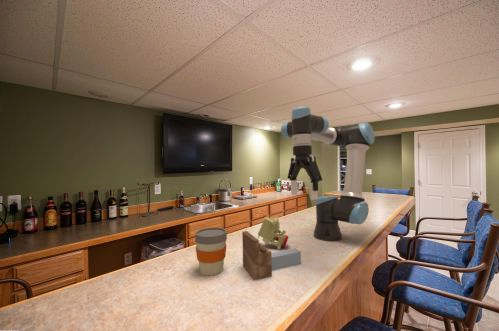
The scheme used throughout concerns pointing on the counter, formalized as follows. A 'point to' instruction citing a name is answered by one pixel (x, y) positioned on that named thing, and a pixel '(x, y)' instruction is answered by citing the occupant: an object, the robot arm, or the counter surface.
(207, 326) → the counter surface
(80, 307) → the counter surface
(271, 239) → the mechanical component
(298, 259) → the rail
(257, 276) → the wooden bracket with knobs
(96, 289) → the counter surface
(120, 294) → the counter surface
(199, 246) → the reusable coffee cup
